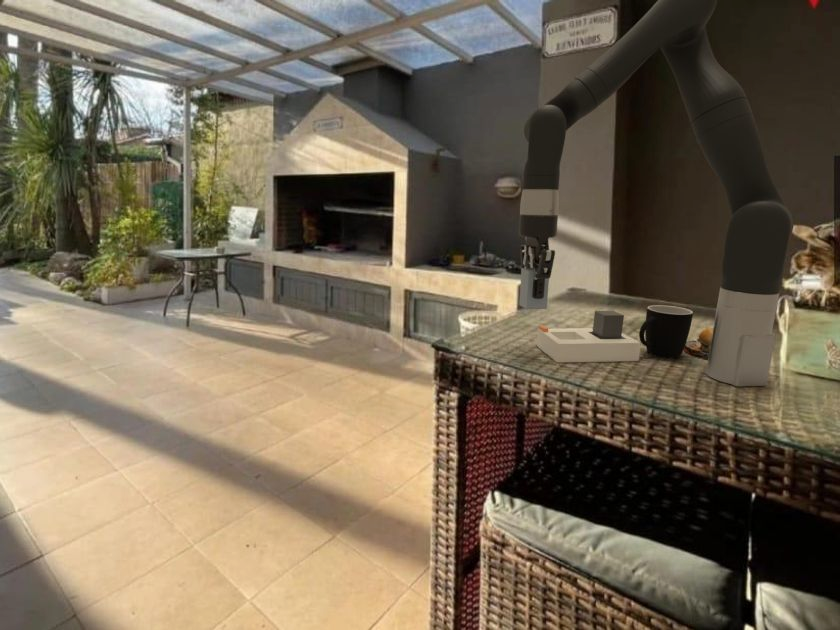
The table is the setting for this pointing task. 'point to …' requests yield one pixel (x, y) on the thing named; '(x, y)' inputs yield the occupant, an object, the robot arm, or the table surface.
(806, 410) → the table surface
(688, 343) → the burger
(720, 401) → the table surface
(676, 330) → the mug
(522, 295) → the plug
